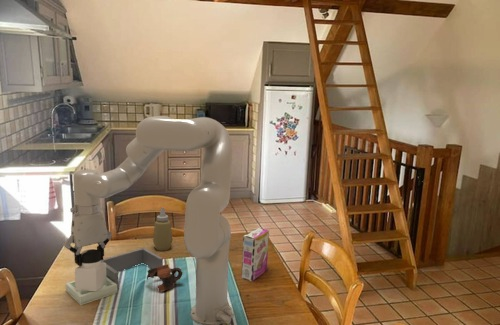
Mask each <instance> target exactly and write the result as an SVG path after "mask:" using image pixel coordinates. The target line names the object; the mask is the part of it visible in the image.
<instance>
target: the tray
mask: <svg viewBox="0 0 500 325" xmlns="http://www.w3.org/2000/svg"><path fill="white" fill-rule="evenodd" d="M65 292H66V293H67V294H68V295H69V297H72V299H74V300H75V302H77V304H79V305H80V306H84V305H87V304H89V303H92V302H95V301H97V300H101V299H104V298H106V297H108V296H112V295H115V294H117V293H118V289H117V284H115V283H114V282H113V281H112V280H110V279H109V278H108V277H106V284H105V285H104V286H102V287H101V288H100V289H99V290H97V291H78V290H75V279H74V280H72V281H69V282H65Z"/></svg>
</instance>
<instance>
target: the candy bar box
mask: <svg viewBox="0 0 500 325" xmlns="http://www.w3.org/2000/svg"><path fill="white" fill-rule="evenodd" d="M269 234H270V230H269V229H265V228H259V227H258V228H256V229H254V230H252V231H250V232H248V233H246V234H245V235H243V239H242V260H241V262H242V263H241V279H244V280H246V281H249V282H254V281H255V280H256V279H258V278H259V277H260V276H261V275H262V274H264V273H265V272H266V271H267V270H268V253H269V236H270V235H269Z"/></svg>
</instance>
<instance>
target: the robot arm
mask: <svg viewBox="0 0 500 325" xmlns="http://www.w3.org/2000/svg"><path fill="white" fill-rule="evenodd" d="M201 149H203V156H202V162H201V172H200V173H201V174H200V182H199V185H198V186H196V187H194V188H193V189H192V190H191V191H190V193H189V194H188V197H187V199H186V202H185V214H184V215H185V216H184V231H183V232H184V234H183V235H184V236H183V239H184V244H185V249H186V251H187V252H188V254H189V255H190V256H192V258H195V259H196V260H195V263H196V264H195V305H194V306H193V307H192V308H191V311H190V317H191V320H192V321H194V323H197V324H199V325H221V324H224V323H225V324H227V325H229V324H230V323H231V322H232V318H234V317H235V313H234V312H233V310H232V307H231V306H230V304H229V303H228V291H229V290H228V288H229V287H228V286H229V285H228V283H229V282H228V281H229V280H228V279H229V278H228V277H229V276H228V275H229V255H230V245H231V244H230V243H231V235H232V231H231V230H232V229H231V225H230V222H229V220H228V219H227V218H226V216H224V215H223V214H222V213H221V212H223V210H225V209H226V208H227V207H228V204H229V203H230V199H231V182H232V160H233V143H232V139H231V136H230V134H229V132H228V130H227V129H226V127H225V126H224V125H223V124H221V122H219V121H217V120H216V119H213V118H211V117H207V116H205V117H204V116H202V117H201V116H200V117H194V118H188V119H187V118H186V119H185V118H184V119H183V118H182V119H180V118H177V119H176V118H175V119H174V118H172V117H170V116H167V115H156V116H148V117H146V118H143V119H142V120H140V122H139V123H138V125H137V126H136V129H135V138H133V139H132V140H131V141H130V142H129V143H128V144H127V145H126V148H125V152H126V155H127V157H126V158H125V160H123V162H121V163H120V164H119V165H118V166H117V167H116V168H114V169H110V170H107V171H105V172H102V173H101V172H99V171H98V170H95V169H80V170H77V171H76V172H74V174H73V193H74V194H73V197H74V204H73V207H70V213H73V214H72V219H71V228H70V236H69V237H68V238H67V239H66V240H65V242H64V243H63V244H62V246H63V247H64V248H66V249H67V250H69V251H70V252H72V253H73V254H74V255H73V256H74V263H75V264H76V265H77V266H78V267H79V266H82V255H81V252H82V249H83V247H88V246H91V245H95V244H97V246H96V250H99V251H100V252H101V260H103V259H104V256H105V248H106V246H107V244H108V243H109V241H110V240H111V239H112V237H113V236H114V234H113V233H112V232H110V230H108V229H107V223H106V217H105V213H104V211H103V210H101V199H107V198H110V197H112V196H115V195H117V194H119V193H121V192H124V191H126V190H128V188H130V187H131V186H132V185H134V183H136V182H137V181H138V180H139V179H140V178H141V176H143V174H144V173H145V172H146V170H148V167H149V166H150V165H151V164H152V163H153V161H155V160H156V159H158V157H159V156H160V155H161V154H162V153H163V152H164V151H175V152H193V151H194V152H195V151H197V150H201ZM71 244H74V245H73V246H72V245H71Z"/></svg>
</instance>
